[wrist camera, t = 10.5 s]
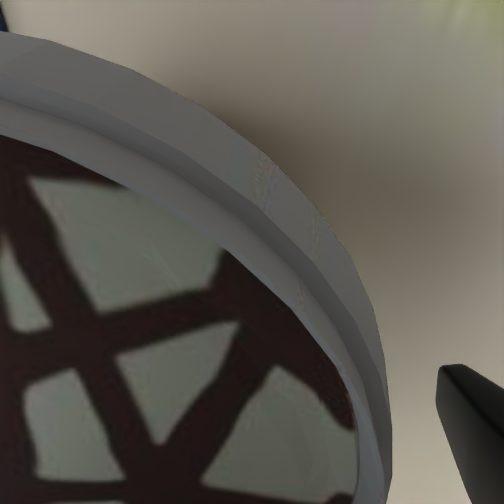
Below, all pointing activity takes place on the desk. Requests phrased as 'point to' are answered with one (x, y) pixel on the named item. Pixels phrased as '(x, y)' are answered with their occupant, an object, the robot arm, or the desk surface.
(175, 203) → the food container
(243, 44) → the desk surface
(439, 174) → the desk surface
